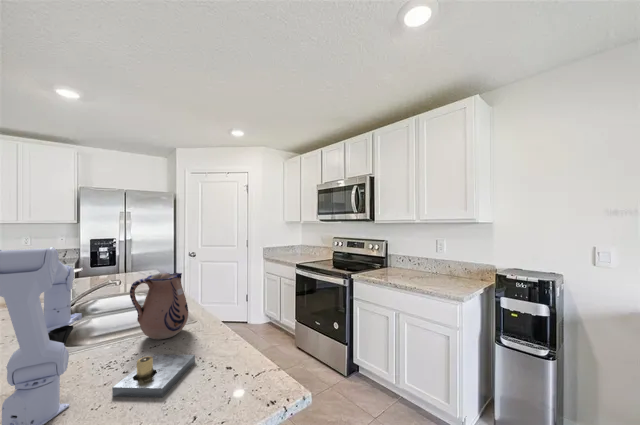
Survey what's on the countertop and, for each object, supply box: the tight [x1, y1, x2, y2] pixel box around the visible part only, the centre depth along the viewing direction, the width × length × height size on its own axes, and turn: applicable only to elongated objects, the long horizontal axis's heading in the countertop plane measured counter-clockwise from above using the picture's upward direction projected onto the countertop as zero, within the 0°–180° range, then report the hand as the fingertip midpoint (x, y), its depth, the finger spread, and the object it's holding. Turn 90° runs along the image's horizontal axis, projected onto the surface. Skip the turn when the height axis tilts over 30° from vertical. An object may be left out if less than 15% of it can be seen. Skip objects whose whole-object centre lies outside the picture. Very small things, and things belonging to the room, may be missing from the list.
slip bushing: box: [136, 355, 153, 381], centre depth 81 cm, size 4×4×7 cm
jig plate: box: [111, 353, 196, 398], centre depth 84 cm, size 18×14×2 cm
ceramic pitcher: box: [129, 272, 189, 341], centre depth 113 cm, size 18×21×25 cm
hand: (57, 353), depth 80 cm, fingers closed
